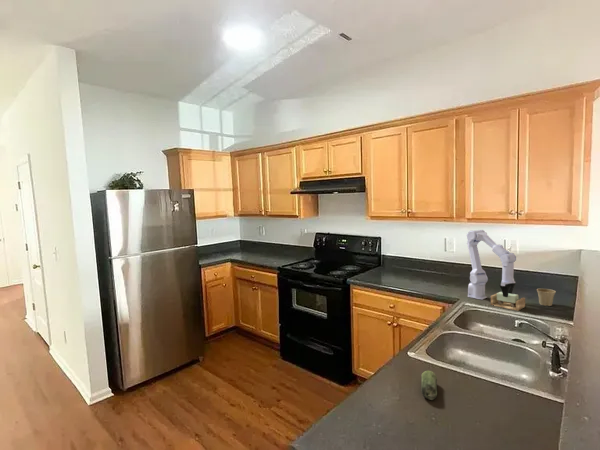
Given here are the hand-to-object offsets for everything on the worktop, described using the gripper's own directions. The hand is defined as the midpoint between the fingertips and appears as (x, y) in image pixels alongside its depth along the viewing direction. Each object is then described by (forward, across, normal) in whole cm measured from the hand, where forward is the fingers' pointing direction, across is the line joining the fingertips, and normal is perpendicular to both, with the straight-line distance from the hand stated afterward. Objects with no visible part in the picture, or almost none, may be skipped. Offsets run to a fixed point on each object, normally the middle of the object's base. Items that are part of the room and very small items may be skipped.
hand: (507, 295), depth 203 cm
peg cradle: (+6, 0, 0) cm, 6 cm away
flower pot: (+7, +20, -14) cm, 25 cm away
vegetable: (+7, -117, -17) cm, 118 cm away
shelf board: (+3, 0, 0) cm, 3 cm away
